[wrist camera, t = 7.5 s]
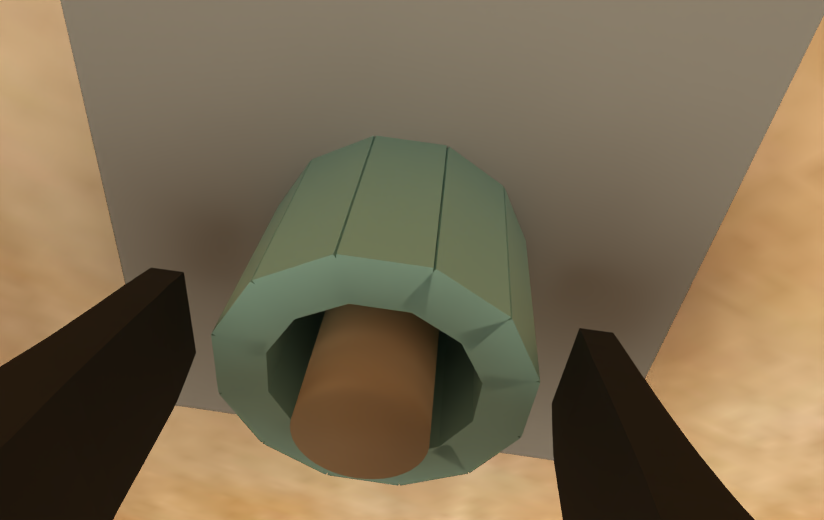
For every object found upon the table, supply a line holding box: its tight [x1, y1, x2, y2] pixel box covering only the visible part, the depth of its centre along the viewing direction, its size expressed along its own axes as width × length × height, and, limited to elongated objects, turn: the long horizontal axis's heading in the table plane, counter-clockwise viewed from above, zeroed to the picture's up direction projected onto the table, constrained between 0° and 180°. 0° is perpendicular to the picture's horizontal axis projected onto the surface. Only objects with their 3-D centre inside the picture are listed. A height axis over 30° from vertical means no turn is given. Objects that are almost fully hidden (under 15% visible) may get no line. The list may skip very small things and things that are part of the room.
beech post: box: [290, 304, 439, 479], centre depth 11 cm, size 2×2×5 cm
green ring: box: [211, 136, 540, 485], centre depth 12 cm, size 5×5×4 cm
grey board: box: [61, 0, 824, 460], centre depth 14 cm, size 13×13×1 cm
